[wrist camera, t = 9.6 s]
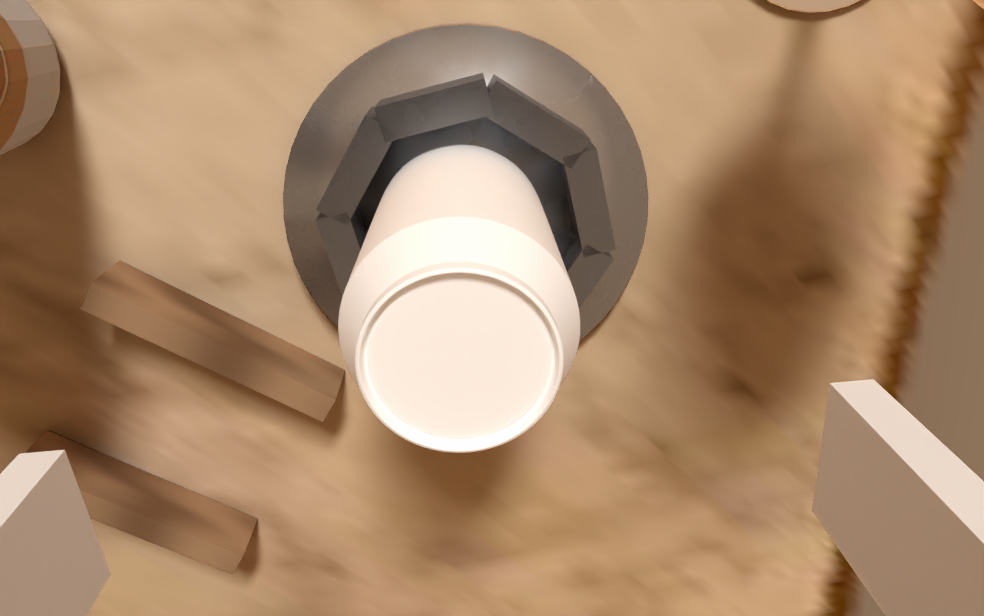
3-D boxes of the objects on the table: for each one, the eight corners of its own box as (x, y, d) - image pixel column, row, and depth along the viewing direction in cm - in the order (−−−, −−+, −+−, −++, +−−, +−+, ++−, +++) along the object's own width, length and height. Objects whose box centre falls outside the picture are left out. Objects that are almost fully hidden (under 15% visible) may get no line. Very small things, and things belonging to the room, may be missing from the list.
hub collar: (231, 271, 30) (208, 300, 27) (394, -59, 25) (385, -65, 22) (522, 417, 33) (528, 456, 30) (713, 150, 28) (740, 167, 26)
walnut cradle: (38, 450, 33) (6, 484, 30) (119, 260, 29) (90, 283, 27) (247, 536, 35) (232, 574, 33) (345, 370, 32) (335, 399, 29)
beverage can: (522, 305, 30) (558, 491, 19) (370, 280, 29) (313, 457, 18) (557, 155, 27) (622, 266, 16) (392, 123, 26) (342, 216, 15)
